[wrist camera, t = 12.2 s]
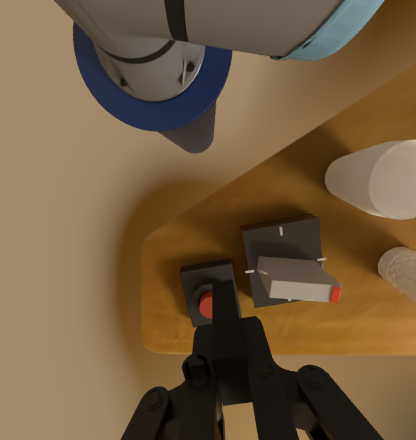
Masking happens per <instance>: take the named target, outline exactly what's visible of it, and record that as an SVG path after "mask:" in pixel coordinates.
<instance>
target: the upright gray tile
mask: <svg viewBox="0 0 416 440" xmlns="http://www.w3.org/2000/svg"><path fill="white" fill-rule="evenodd" d="M257 271H258V273H259V276H260V278H261V280H262V282H263V284H264V287H265V289H266V291H267V293H268V296H269V297H270V298H282V299H294V300H307V301H320V302H331V303H338V301H339V297H340V293H341V288H342V285H341V284H340V283H338V282H337V281H336V280H335V279H334V278H333V277H332V276H331V275H329V274H328V273H327V272H326V271H325V270H324V269H323V268H322V267H321V266H319V265H318V264H317V263H316V262H315V261H313V260H301V259H288V258H275V257H262V256H259V259H258V267H257Z"/></svg>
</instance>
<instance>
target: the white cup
mask: <svg viewBox="0 0 416 440" xmlns="http://www.w3.org/2000/svg"><path fill="white" fill-rule="evenodd" d="M377 266H378V273H379V275H380V276H381V277H382V278H383V279H384V280H385V281H386V282H388V283H389V284H391V285H392V286H393V287H394V288H395V289H397V290H398V291H399V292H401V293H402V294H403V295H404V296H406V297H407V298H409V299H410V300H411V301H413V302H414V303H416V251H415V250H412V249H409V248H406V247H395V248H392V249H390V250H388V251H386V252H385V253H384V254H383V255H382V256H381V258H380V260H379V262H378V265H377Z"/></svg>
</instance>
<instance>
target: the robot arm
mask: <svg viewBox="0 0 416 440" xmlns="http://www.w3.org/2000/svg"><path fill="white" fill-rule="evenodd" d="M54 1H55V2H56V3H57V4H58V5H59V6H60V7H61V8H62V9H63V10H64V11H65V12H66V13H67V14H68V15H69V16H70V17H71V18H72V19H73V21H74V22H75V23H76V24H77V25H78V26H79V27H80V28H81V29H82V30H83V31H84V32H85V33H86V34H87V35H88V36H89V37H90V38H91V39H92V41H93V44H94V47H95V50H96V53H97V55H98V58H99V60H100V63H101V65H102V66H103V68H104V70H105V71H106V73H107V74H108V76H109V77H110V78H111V80H112V81H113V82H114V83H115V84H116V85H117V86H118V87H119V88H120V89H121V90H123V91H124V92H125V93H126V94H128V95H129V96H131V97H133V98H135V99H137V100H140V101H143V102H148V103H163V102H167V101H171V100H173V99H175V98H177V97H179V96H181V95H182V94H184V93H185V92H186V91H187V90H188V89H189V88H190V87H191V86H192V85H193V83H194V82H195V80H196V79H197V77H198V75H199V73H200V71H201V69H202V66H203V62H204V58H205V51H206V46H210V47H216V48H222V49H228V50H235V51H241V52H247V53H253V54H259V55H266V56H270V58H271V59H274V60H278V61H280V60H285V59H294V60H304V61H316V60H319V59H321V58H323V57H327V56H328V55H331V54H333V53H334V52H336V51H338V50H339V49H340V48H341V47H343V46H344V45H345V44H346V43H347V42H349V41H350V40H351V39H352V38H353V37H354V36H355V35H356V34H357V33H358V32H359V31H360V30H361V28H363V26H364V25H365V24H366V23H367V22H368V21H369V19H370V18H371V17H372V16H373V14H374V13H375V12H376V11H377V9H378V8H379V7H380V5H381V4H382V3H383V2H384V0H54ZM182 370H183V373H184V377H185V381H184V382H183V383H182V384H181V385H179V386H178V387H176V388H174V389H172V390H169V391H167V389H166V388H164V387H161V386H159V387H154V388H152V389H150V390H149V391H148V392H147V393H146V394H145V395H144V396H143V398H142V399H141V401H140V403H139V405H138V407H137V409H136V410H135V413H134V414H133V417H132V418H131V420H130V422H129V424H128V426H127V428H126V430H125V432H124V434H123V436H122V438H121V440H225V426H224V416H223V412H222V403H223V406H226V405H233V404H241V403H249V402H253V408H254V414H255V421H256V427H257V433H258V438H259V440H299V437H298V434H297V431H296V428H298V429H302V430H305V432H306V434H307V436H308V437H309V439H310V440H384V439H383V438H382V437H381V436H380V435H379V434H378V432H377V431H376V430H375V429H374V428H373V427H372V425H371V424H370V423H369V422H368V421H367V419H366V418H365V417H364V416H363V415H362V413H361V412H360V411H359V410H358V409H357V407H356V406H355V405H354V404H353V403H352V402H351V400H350V399H349V398H348V397H347V396H346V394H345V393H344V392H343V391H342V390H341V389H340V388H339V386H338V385H337V384H336V383H335V382H334V380H333V379H332V378H331V377H330V376H329V374H328V373H327V372H325V371H324V370H323V369H322V368H320V367H318V366H314V365H306V366H303V367H301V368H300V369H299V370H298V372H294V371H289V370H285V369H283V368H281V367H279V366H278V365H277V364H276V363H275V362H274V360H273V358H272V355H271V352H270V349H269V345H268V342H267V339H266V336H265V332H264V329H263V326H262V323H261V321H260V320H259V319H258V318H257V317H256V316H253V317H247V318H240V317H239V311H238V306H237V300H236V295H235V290H234V285H233V279H231V280H225V281H219V282H213V283H212V324H205V325H199V326H198V327H197V329H196V331H195V332H194V341H193V351H192V354H191V355H190V356H188V357H187V358H186V359H185V361H184V362H183V365H182Z"/></svg>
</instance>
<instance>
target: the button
mask: <svg viewBox="0 0 416 440" xmlns="http://www.w3.org/2000/svg"><path fill="white" fill-rule="evenodd" d="M199 309H200V312H201V314H202V315H203V316H205V317H206V318H210V319H212V291H209V292H206V293H204V294H203V295H202V296H201V298H200V305H199Z"/></svg>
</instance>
